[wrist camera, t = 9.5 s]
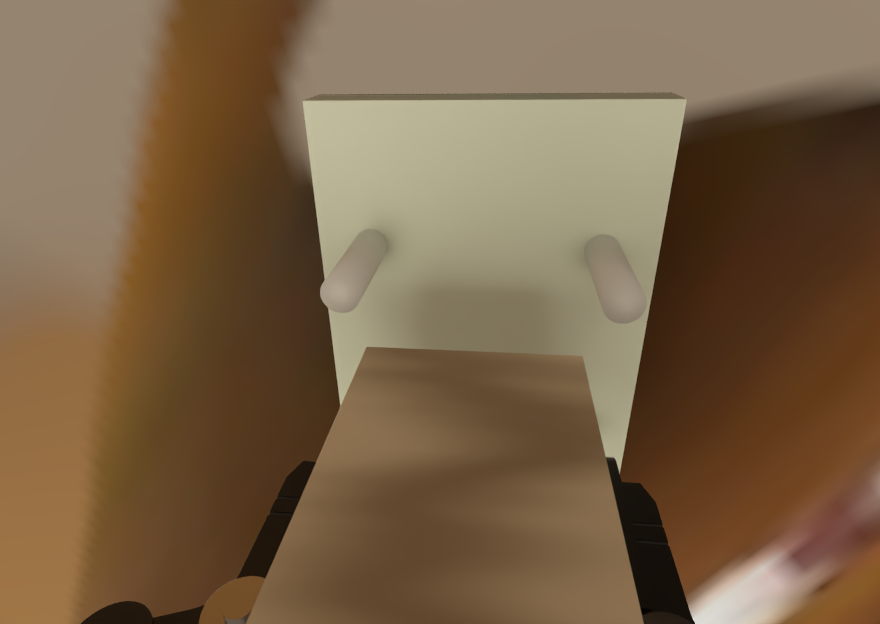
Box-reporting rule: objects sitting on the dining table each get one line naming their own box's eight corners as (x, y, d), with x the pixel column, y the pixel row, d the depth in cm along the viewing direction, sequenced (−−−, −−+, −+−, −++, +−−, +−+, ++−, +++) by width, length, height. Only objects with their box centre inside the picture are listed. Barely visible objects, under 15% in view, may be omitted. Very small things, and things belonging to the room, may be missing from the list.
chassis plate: (671, 92, 15) (737, 119, 11) (604, 492, 22) (628, 609, 18) (319, 94, 16) (248, 120, 12) (361, 475, 23) (326, 581, 19)
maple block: (582, 355, 12) (658, 682, 6) (563, 513, 15) (604, 864, 9) (366, 346, 13) (238, 640, 7) (380, 500, 15) (295, 823, 9)
